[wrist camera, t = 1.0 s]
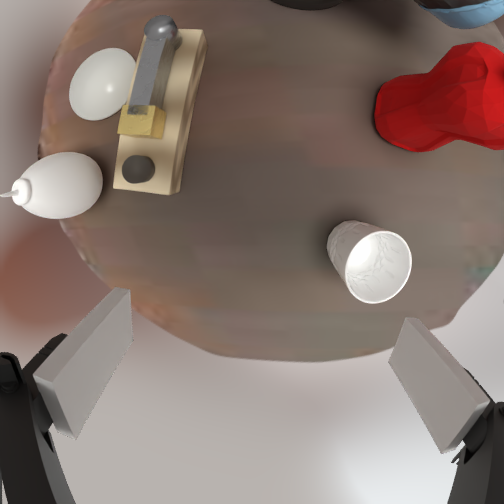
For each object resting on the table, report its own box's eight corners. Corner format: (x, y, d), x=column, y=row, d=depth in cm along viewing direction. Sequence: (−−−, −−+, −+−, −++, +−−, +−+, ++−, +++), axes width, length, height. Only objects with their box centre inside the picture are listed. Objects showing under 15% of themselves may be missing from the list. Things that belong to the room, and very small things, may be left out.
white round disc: (81, 52, 29) (79, 51, 29) (146, 47, 30) (145, 46, 29) (64, 121, 32) (62, 120, 32) (128, 121, 33) (127, 120, 32)
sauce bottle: (70, 155, 34) (-22, 157, 16) (116, 151, 34) (28, 144, 17) (70, 209, 36) (-19, 239, 19) (116, 209, 36) (30, 241, 19)
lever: (157, 30, 25) (147, 15, 21) (186, 30, 25) (179, 14, 21) (132, 137, 29) (116, 133, 25) (161, 139, 29) (149, 135, 25)
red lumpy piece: (432, 162, 35) (576, 175, 10) (367, 137, 34) (514, 112, 10) (439, 105, 32) (571, 80, 8) (376, 76, 31) (501, 4, 7)
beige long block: (157, 44, 30) (139, 21, 23) (207, 45, 30) (199, 20, 23) (129, 185, 35) (103, 189, 28) (179, 191, 36) (162, 197, 28)
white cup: (323, 276, 39) (345, 308, 29) (320, 218, 37) (344, 235, 27) (376, 268, 39) (409, 297, 29) (375, 213, 37) (412, 227, 27)
